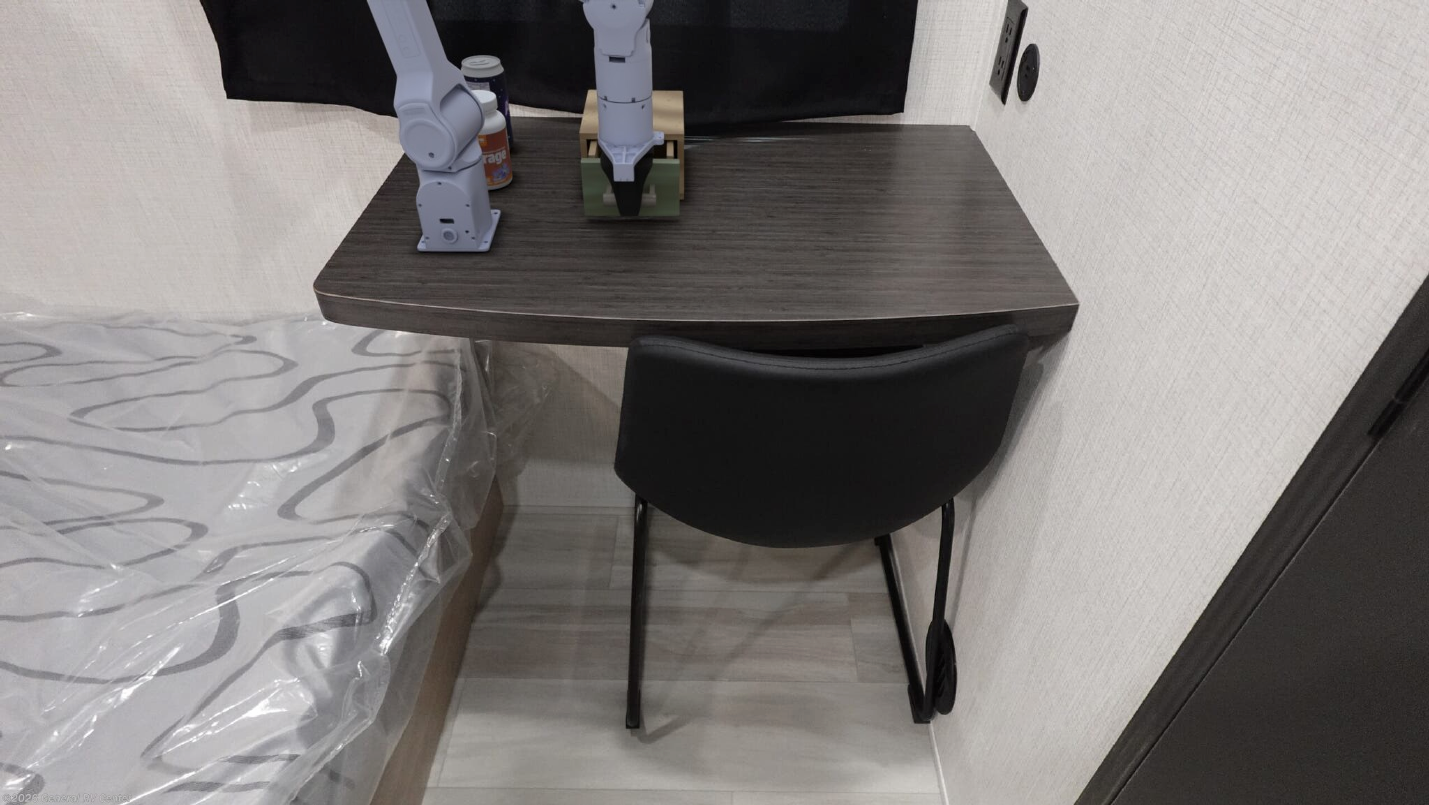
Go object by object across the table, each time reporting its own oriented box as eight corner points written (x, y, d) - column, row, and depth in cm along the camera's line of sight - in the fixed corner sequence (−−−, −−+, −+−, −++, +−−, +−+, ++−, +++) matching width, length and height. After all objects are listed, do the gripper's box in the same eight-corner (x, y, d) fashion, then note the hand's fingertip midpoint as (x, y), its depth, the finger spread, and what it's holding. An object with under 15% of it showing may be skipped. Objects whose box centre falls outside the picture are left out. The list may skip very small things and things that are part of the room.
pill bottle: (469, 195, 106) (454, 108, 99) (460, 175, 110) (445, 90, 103) (518, 187, 108) (507, 101, 101) (507, 168, 112) (496, 84, 105)
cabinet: (683, 199, 106) (684, 133, 101) (584, 198, 106) (579, 132, 100) (682, 152, 118) (682, 90, 112) (592, 151, 117) (588, 89, 112)
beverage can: (518, 155, 115) (506, 66, 108) (476, 160, 114) (462, 70, 106) (510, 139, 119) (498, 52, 112) (469, 144, 118) (455, 56, 110)
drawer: (679, 233, 98) (679, 179, 93) (581, 233, 97) (577, 178, 93) (678, 168, 111) (678, 118, 107) (592, 167, 111) (589, 117, 106)
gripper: (662, 120, 81) (664, 245, 89) (664, 70, 92) (665, 185, 101) (589, 119, 80) (598, 245, 89) (599, 69, 92) (606, 184, 100)
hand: (629, 213), depth 95 cm, fingers closed
